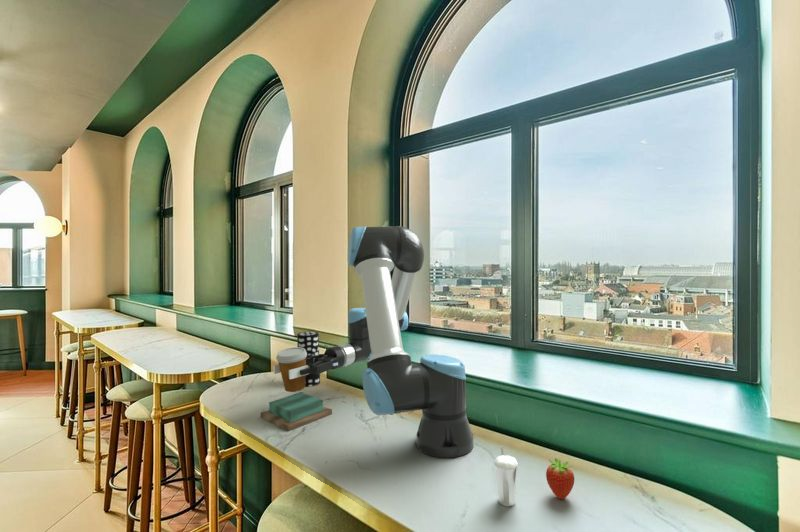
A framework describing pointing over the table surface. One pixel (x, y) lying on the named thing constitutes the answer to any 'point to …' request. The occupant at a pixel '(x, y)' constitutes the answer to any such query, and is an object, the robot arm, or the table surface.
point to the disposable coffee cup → (292, 367)
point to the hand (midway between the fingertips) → (281, 372)
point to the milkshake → (506, 478)
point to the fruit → (560, 478)
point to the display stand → (295, 411)
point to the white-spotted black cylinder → (311, 346)
